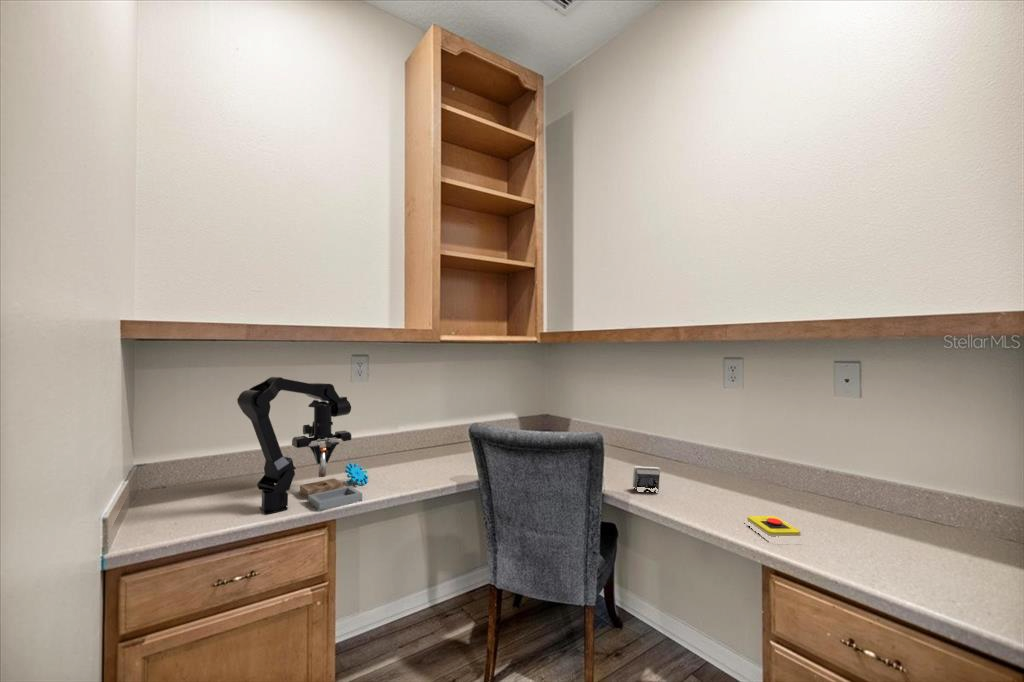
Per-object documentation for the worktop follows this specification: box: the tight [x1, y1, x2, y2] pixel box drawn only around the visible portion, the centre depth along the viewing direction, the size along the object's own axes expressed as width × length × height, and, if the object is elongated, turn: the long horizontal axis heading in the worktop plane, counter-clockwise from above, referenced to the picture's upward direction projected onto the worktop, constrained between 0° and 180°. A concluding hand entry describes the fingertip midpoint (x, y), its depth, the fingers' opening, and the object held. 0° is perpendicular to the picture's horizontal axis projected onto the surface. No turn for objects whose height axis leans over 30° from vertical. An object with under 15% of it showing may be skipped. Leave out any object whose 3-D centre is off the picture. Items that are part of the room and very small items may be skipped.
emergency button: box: [746, 515, 801, 537], centre depth 125 cm, size 9×4×15 cm
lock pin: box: [317, 446, 328, 478], centre depth 155 cm, size 3×3×10 cm
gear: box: [344, 462, 370, 486], centre depth 166 cm, size 11×6×10 cm
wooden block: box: [299, 477, 344, 500], centre depth 155 cm, size 12×8×3 cm, turn 134°
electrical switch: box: [632, 465, 661, 491], centre depth 159 cm, size 9×5×9 cm, turn 83°
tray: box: [307, 485, 363, 512], centre depth 146 cm, size 14×10×2 cm
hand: (322, 463), depth 155 cm, fingers closed on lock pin, 3 cm apart
